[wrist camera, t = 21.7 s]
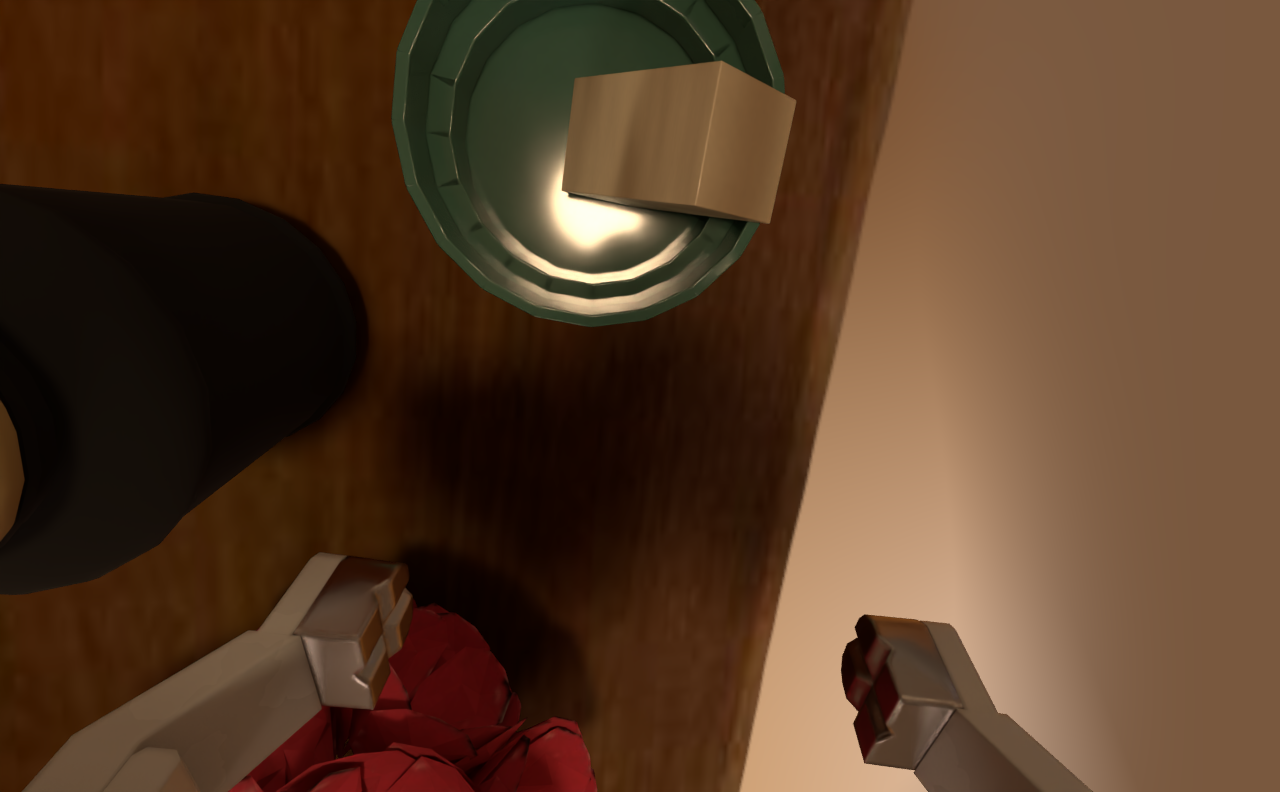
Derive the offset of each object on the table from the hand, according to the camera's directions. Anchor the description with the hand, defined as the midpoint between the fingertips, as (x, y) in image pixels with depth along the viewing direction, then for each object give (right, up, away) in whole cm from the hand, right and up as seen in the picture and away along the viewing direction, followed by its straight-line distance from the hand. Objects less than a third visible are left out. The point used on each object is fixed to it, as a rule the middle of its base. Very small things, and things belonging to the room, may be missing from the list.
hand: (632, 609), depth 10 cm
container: (-19, +8, +19) cm, 28 cm away
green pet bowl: (-2, +16, +17) cm, 23 cm away
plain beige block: (-1, +15, +16) cm, 22 cm away
